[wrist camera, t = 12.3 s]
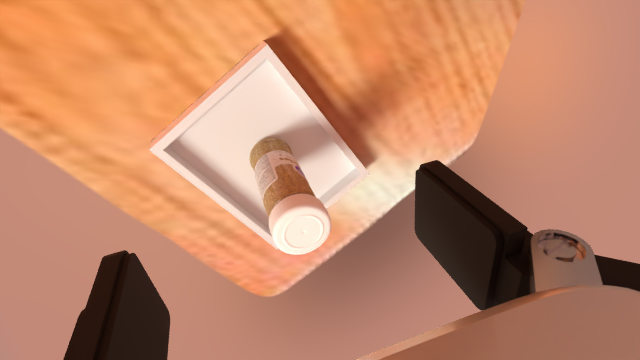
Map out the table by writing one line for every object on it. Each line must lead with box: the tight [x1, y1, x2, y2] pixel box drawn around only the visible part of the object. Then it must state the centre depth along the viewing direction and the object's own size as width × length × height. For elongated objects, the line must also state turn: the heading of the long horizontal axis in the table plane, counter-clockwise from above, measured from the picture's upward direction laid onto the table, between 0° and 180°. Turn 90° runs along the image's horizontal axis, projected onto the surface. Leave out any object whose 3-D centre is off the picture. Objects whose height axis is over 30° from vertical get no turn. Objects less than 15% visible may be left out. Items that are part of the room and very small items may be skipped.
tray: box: [149, 41, 369, 250], centre depth 36 cm, size 18×14×2 cm
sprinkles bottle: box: [249, 138, 331, 255], centre depth 31 cm, size 5×5×14 cm
